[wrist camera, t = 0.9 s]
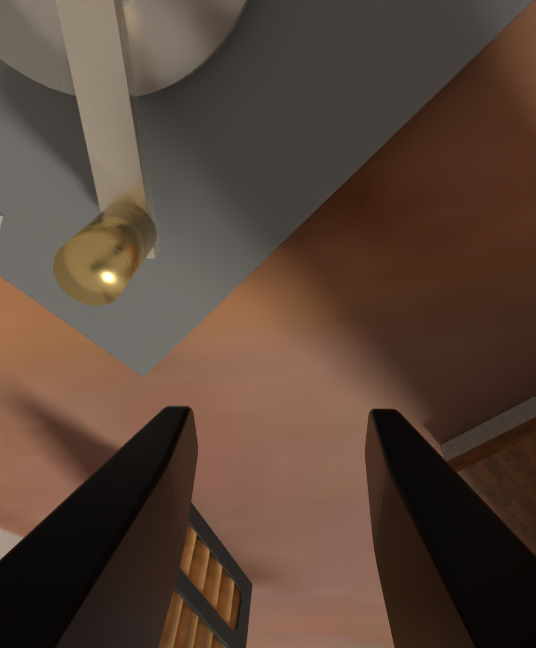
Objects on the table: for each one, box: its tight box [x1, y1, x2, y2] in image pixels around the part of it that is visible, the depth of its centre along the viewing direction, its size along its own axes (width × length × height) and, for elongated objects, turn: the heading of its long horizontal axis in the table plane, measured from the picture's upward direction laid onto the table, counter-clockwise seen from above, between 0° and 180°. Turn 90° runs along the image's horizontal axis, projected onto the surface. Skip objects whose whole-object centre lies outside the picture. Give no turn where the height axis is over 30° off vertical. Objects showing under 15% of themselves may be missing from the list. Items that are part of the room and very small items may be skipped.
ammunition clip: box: [159, 503, 252, 648], centre depth 25 cm, size 11×2×12 cm, turn 23°
